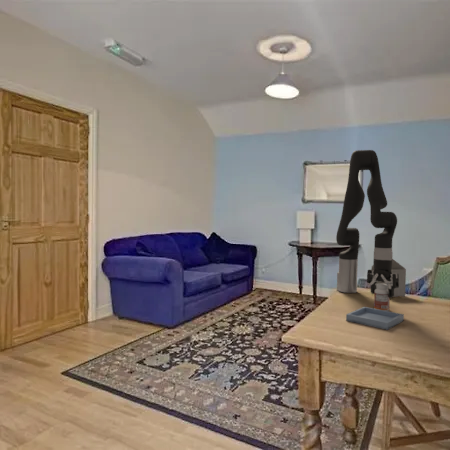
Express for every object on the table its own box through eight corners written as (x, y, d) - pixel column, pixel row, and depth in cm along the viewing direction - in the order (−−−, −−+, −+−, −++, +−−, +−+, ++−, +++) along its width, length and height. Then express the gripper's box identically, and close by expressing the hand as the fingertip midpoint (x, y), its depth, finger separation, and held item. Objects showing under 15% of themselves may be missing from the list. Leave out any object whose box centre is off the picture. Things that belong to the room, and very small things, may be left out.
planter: (367, 295, 195) (368, 256, 194) (370, 292, 202) (372, 255, 201) (403, 299, 187) (404, 259, 186) (405, 296, 193) (406, 257, 192)
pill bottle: (378, 307, 172) (379, 282, 171) (392, 310, 167) (392, 284, 167) (371, 309, 168) (371, 284, 168) (384, 312, 163) (385, 286, 163)
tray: (346, 320, 152) (346, 314, 151) (364, 312, 163) (364, 306, 163) (387, 329, 140) (387, 323, 140) (403, 320, 152) (403, 314, 152)
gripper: (363, 256, 171) (362, 293, 171) (391, 260, 158) (390, 299, 159) (374, 255, 174) (373, 291, 175) (403, 259, 162) (402, 297, 163)
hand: (382, 295), depth 167 cm, fingers open, 8 cm apart
